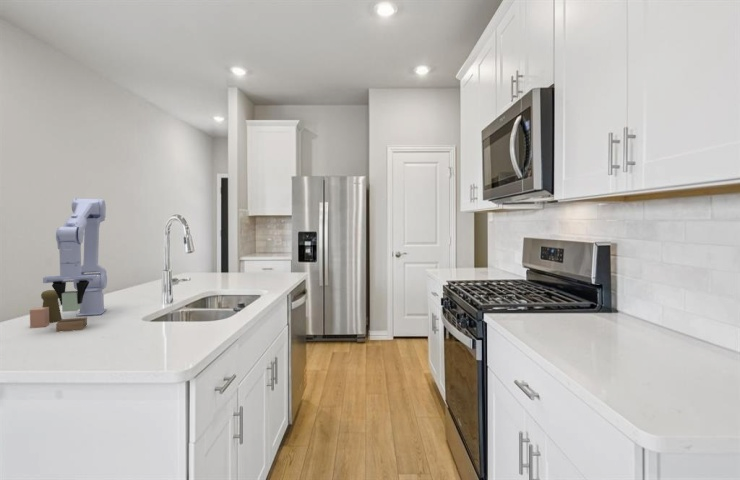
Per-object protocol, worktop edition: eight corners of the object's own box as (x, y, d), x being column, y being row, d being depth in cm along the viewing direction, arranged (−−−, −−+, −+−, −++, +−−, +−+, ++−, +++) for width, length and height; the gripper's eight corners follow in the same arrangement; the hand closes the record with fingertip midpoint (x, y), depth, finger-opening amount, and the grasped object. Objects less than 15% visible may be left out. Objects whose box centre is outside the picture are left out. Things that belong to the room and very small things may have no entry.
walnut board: (62, 327, 137) (61, 319, 137) (87, 325, 140) (86, 317, 140) (56, 333, 131) (56, 323, 131) (82, 330, 134) (82, 321, 134)
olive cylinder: (52, 323, 142) (52, 291, 141) (35, 323, 142) (34, 291, 142) (66, 319, 148) (65, 289, 148) (49, 318, 148) (48, 288, 148)
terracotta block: (35, 325, 139) (34, 307, 139) (49, 324, 141) (48, 307, 140) (30, 328, 136) (29, 310, 135) (45, 327, 137) (44, 309, 137)
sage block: (66, 309, 136) (66, 291, 136) (80, 308, 138) (80, 290, 137) (62, 311, 133) (61, 293, 132) (76, 310, 134) (76, 292, 134)
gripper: (38, 264, 128) (40, 307, 129) (93, 263, 133) (94, 304, 134) (47, 262, 135) (48, 303, 135) (98, 261, 140) (99, 300, 141)
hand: (71, 303), depth 135 cm, fingers closed on sage block, 4 cm apart
